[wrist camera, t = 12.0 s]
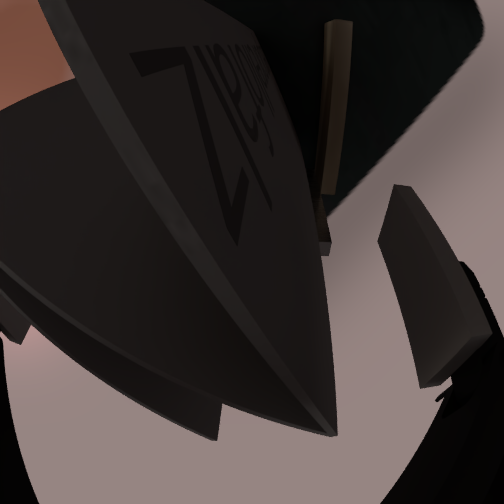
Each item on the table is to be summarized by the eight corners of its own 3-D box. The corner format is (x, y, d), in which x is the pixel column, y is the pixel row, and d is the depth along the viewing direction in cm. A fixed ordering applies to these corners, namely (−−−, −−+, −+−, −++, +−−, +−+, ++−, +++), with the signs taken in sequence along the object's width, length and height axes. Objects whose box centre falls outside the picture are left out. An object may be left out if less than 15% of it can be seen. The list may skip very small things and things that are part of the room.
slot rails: (338, 25, 22) (352, 21, 17) (326, 170, 34) (334, 194, 29) (177, 25, 23) (156, 23, 18) (189, 166, 35) (174, 189, 30)
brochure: (300, 142, 32) (338, 436, 9) (256, 156, 33) (212, 440, 11) (253, 31, 23) (41, -54, 1) (205, 50, 25) (-82, 172, 2)
